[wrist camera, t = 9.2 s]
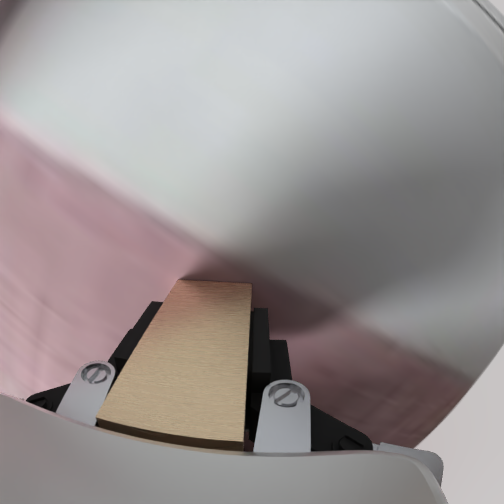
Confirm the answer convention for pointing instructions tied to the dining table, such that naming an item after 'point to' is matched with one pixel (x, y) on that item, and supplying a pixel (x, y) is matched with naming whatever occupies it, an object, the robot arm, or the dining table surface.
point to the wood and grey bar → (188, 371)
